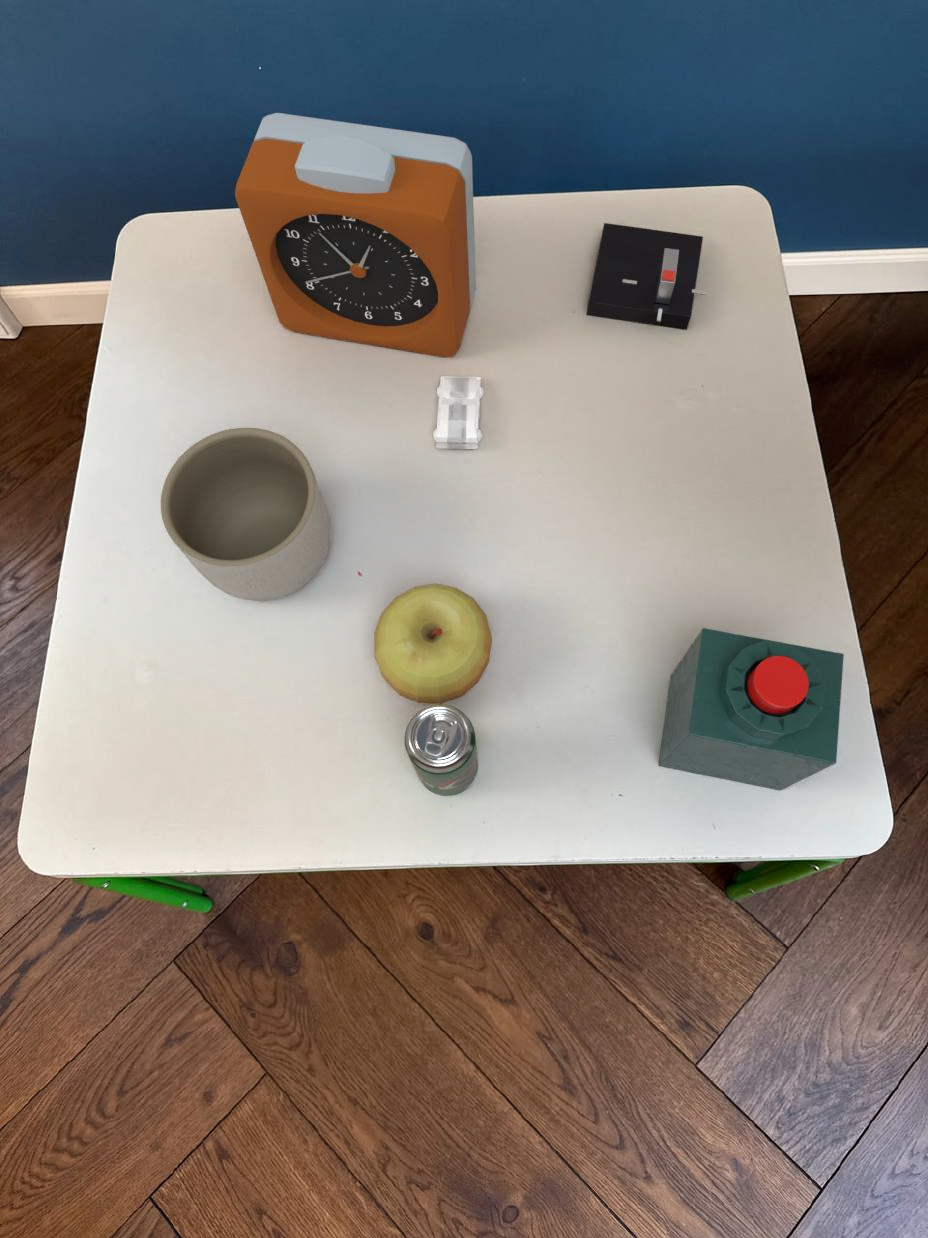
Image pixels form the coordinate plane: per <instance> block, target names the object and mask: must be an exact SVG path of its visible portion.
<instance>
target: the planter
mask: <svg viewBox="0 0 928 1238" xmlns="http://www.w3.org/2000/svg"><path fill="white" fill-rule="evenodd" d="M309 461H310V460H309V459H308V458H307V457H306V455H305V454H304V452H303V451H302V450H301V449H300V448H299V446H297V445H296V444H295V443H294V442H293V441H291V440H290V439H288V438H286V437H284V436H283V435H281V434H279V433H276V432H274V431H271V430H267V429H263V428H257V427H234V428H229V429H225V430H221V431H218V432H215V433H212V434H210V435H207V436H205V437H204V438H201V439H200V440H199V441H197V442H196V443H194V444H192V445H191V446H190V447H188V448H187V449H186V451H184V452H183V453H182V454H181V455H180V456H179V457H178V458H177V460H176V461H175V462H174V463H173V465H172V467H171V469H170V470H169V471H168V474H167V476H166V477H165V480H164V483H163V486H162V491H161V495H160V513H161V519H162V523H163V526H164V528H165V530H166V532H167V534H168V536H169V538H170V539H171V540H172V542H173V543H174V544H175V546H176V547H177V548H178V549H179V550H180V551H181V553H182V554H183V555H184V556H185V557H186V558H187V559H188V561H189V562H190V563H191V564H192V566H193V567H194V568H195V569H196V570H197V571H198V572H199V574H201V575H202V576H203V577H204V578H205V580H207V581H208V582H209V583H210V584H212V586H215V588H217V589H219V591H222V592H223V593H225V594H227V595H229V596H232V597H234V598H237V599H241V600H244V601H245V600H246V601H252V602H253V601H254V602H269V601H273V600H279V599H282V598H285V597H287V596H290V595H292V594H294V593H296V592H297V591H299V590H300V589H302V588H303V587H304V586H306V585H307V584H308V583H309V582H310V581H311V580H312V579H314V577H315V576H316V574H317V573H318V572H319V571H320V569H321V567H322V565H323V563H324V561H325V559H326V557H327V553H328V550H329V545H330V539H331V525H330V518H329V513H328V509H327V507H326V502H325V500H324V496H323V493H322V491H321V489H320V486H319V483H318V481H317V477H316V475H315V473H314V470H313V467H312V466H311V463H310V462H309Z"/></svg>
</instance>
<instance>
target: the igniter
mask: <svg viewBox="0 0 928 1238" xmlns="http://www.w3.org/2000/svg"><path fill="white" fill-rule="evenodd" d="M773 656H784V657H787V658H790V659H792V660H794V661H796V662H797V663H798V664H799V665H800V666H801V667H802V668H803V669H804V671H805V673H806V675H807V678H808V683H809V687H808V692H807V694H806V696H805V698H804V699H803V700H802V701H801V702H800V703H799V704H798V705H796V706H795V707H794V708H792V709H791V710H789V711H787V712H785V713H780V714H774V713H769V712H766V711H764V710H762V709H760V708H759V707H758V706H756V705H755V704H754V702H753V701H752V700H751V698H750V696H749V693H748V689H747V682H748V678H749V676H750V674H751V672H752V671H753V670H754V669H755V668H756V667H757V666H758V665H759V664H760V663H761V662H762V661H763V660H765V659H767V658H769V657H773ZM844 656H845V655H844V653H843V652H835V651H831V650H826V649H825V650H824V649H819V648H814V647H808V646H804V645H803V646H802V645H797V644H793V643H787V642H781V641H776V640H770V639H765V638H760V637H755V636H749V635H743V634H739V633H738V634H737V633H734V632H733V633H731V632H727V631H722V630H716V629H710V628H705V627H703V628H701V630H700V631H699V633H698V634H697V636H696V637H695V639H694V641H693V642H692V643H691V644H690V645H689V648H688V649H687V651H686V652H685V654H684V655H683V656H682V658H681V659H680V661H679V662H678V664H677V665H676V667H675V668H674V669H673V671H672V673H671V674H670V678H669V685H668V692H667V698H666V699H667V700H666V706H665V715H664V721H663V728H662V735H661V743H660V749H659V750H660V751H659V758H658V767H661V768H666V769H671V770H676V771H680V772H685V773H691V774H696V775H701V776H706V777H711V778H716V779H719V780H727V781H731V782H736V783H740V784H746V785H752V786H755V787H760V788H761V787H762V788H766V789H771V790H776V791H783V790H785V789H788V788H789V787H792V786H793V785H796V784H797V783H799V782H801V781H803V780H805V779H807V778H809V777H811V776H813V775H815V774H817V773H819V772H821V771H823V770H825V769H827V768H830V767H831V766H833V765H836V764H837V757H838V756H837V755H838V742H839V727H840V712H841V697H842V687H843V686H842V685H843V684H842V683H843V672H844V671H843V670H844V669H843V668H844V658H845V657H844Z"/></svg>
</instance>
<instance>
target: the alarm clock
mask: <svg viewBox="0 0 928 1238" xmlns="http://www.w3.org/2000/svg"><path fill="white" fill-rule="evenodd" d="M473 177H474V176H473V156H472V153H471V150H470V148H469V147H468V145H467V143H466V142H464V141H462V140H460V139H458V138H456V137H453V136H452V137H451V136H445V135H438V134H430V133H424V132H417V131H411V130H410V131H409V130H403V129H395V128H388V127H381V126H375V125H367V124H361V123H352V122H346V121H338V120H332V119H325V118H317V117H311V116H303V115H296V114H289V113H281V112H274V113H271V114H268V115H266V116H264V117H262V119H261V122H260V124H259V125H258V129H257V132H256V134H255V136H254V139H253V142H252V143H251V146H250V148H249V152H248V155H247V156H246V159H245V162H244V164H243V167H242V169H241V172H240V175H239V177H238V179H237V181H236V186H235V190H234V195H235V200H236V203H237V206H238V208H239V212H240V214H241V217H242V220H243V224H244V226H245V229H246V231H247V235H248V238H249V240H250V243H251V246H252V249H253V251H254V254H255V257H256V260H257V263H258V265H259V268H260V270H261V273H262V277H263V280H264V283H265V285H266V288H267V292H268V294H269V297H270V299H271V302H272V305H273V308H274V311H275V313H276V316H277V319H278V321H279V323H280V324H281V325H282V326H283V328H285V329H286V330H288V331H292V332H293V333H298V334H303V335H309V336H315V337H322V338H326V339H332V340H333V339H334V340H340V341H346V342H350V343H356V344H357V343H358V344H364V345H369V346H376V347H382V348H387V349H392V350H399V351H405V352H410V353H418V354H424V355H429V356H434V357H439V358H440V357H442V358H449V357H454V355H456V354H457V352H458V351H459V350H460V348H461V345H462V342H463V338H464V334H465V330H466V327H467V323H468V319H469V315H470V312H471V308H472V305H473V302H474V297H475V295H476V294H475V293H476V289H477V281H476V280H477V279H476V245H475V243H476V241H475V214H474V213H475V211H474V210H475V209H474V182H473V180H474V178H473Z"/></svg>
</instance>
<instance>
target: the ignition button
mask: <svg viewBox="0 0 928 1238" xmlns="http://www.w3.org/2000/svg"><path fill="white" fill-rule="evenodd" d="M808 687H809V683H808V678H807V675H806V673H805V671H804V669H803V668H802V667H801V666H800V665H799V664H798V663H797V662H796V661H794V660H792V659H790V658H787V657H784V656H773V657H769V658H767V659H765V660H763V661H762V662H761V663H760V664H759V665H758V666H757V667H756V668H755V669H754V670H753V671H752V672H751V674H750V676H749V678H748V682H747V689H748V693H749V696H750V698H751V700H752V701H753V702H754V704H755V705H756V706H758V707H759V708H760V709H762V710H764V711H766V712H769V713H774V714H780V713H785V712H787V711H789V710H791V709H792V708H794V707H795V706H796V705H798V704H799V703H800V702H801V701H802V700H803V699H804V698H805V696H806V694H807V692H808Z"/></svg>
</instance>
